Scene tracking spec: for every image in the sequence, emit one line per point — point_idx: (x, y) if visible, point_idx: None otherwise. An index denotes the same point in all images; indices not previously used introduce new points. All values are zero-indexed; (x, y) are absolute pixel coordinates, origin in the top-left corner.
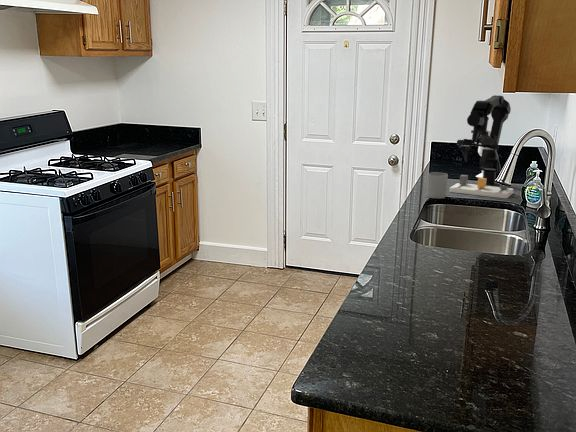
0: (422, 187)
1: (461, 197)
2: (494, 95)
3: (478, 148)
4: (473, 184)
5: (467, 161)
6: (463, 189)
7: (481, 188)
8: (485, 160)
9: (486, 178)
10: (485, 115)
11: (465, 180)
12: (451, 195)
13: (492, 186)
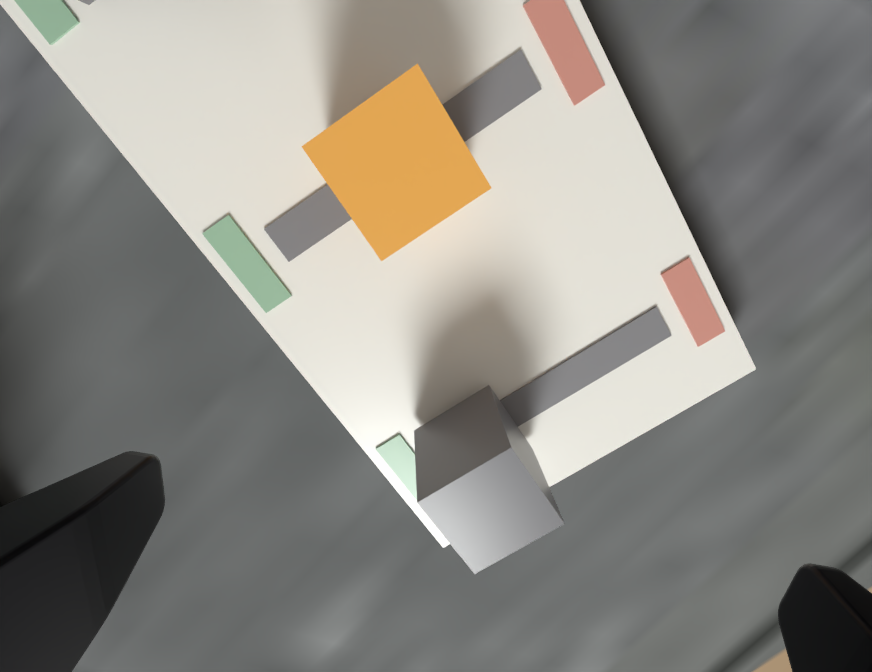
0: None
1: (864, 17)
2: None
3: None
4: (331, 405)
5: (823, 575)
6: (681, 215)
7: None
8: (27, 520)
9: (307, 142)
10: None
11: (503, 421)
12: (865, 178)
13: (152, 187)
